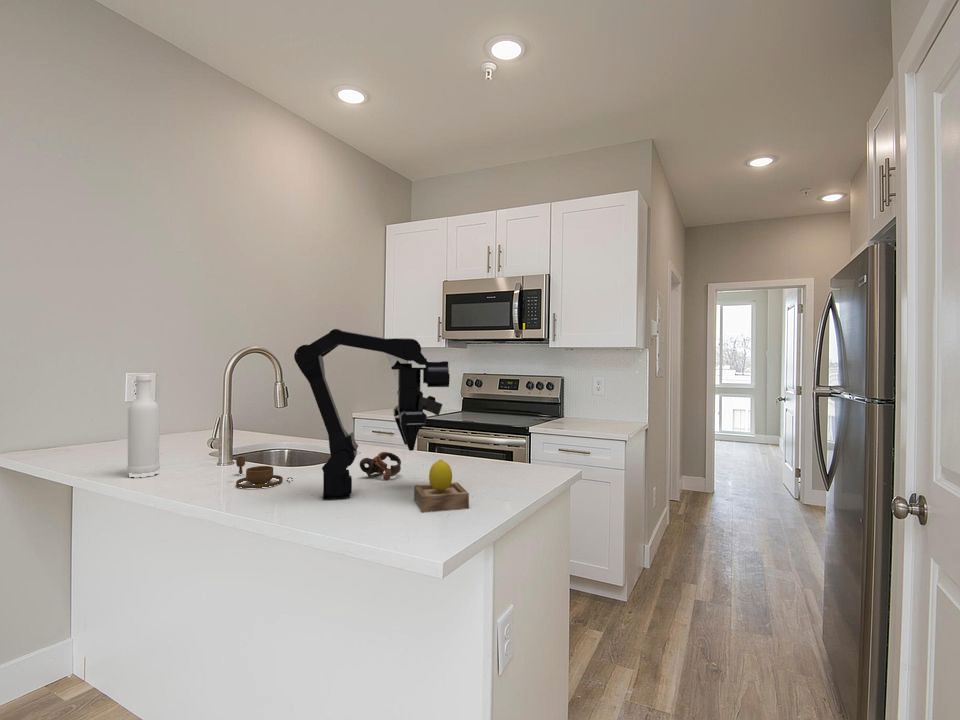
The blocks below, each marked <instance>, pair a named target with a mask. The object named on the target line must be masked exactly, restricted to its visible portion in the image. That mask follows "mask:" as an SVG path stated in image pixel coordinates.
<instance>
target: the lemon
mask: <svg viewBox="0 0 960 720" xmlns="http://www.w3.org/2000/svg"><path fill="white" fill-rule="evenodd" d="M452 472H453V471H452V468H451V466H450V464H449V463H448V462H446V461H444V460H443V459H438V461H435V462H434V463H433V464H432V465H431V467H430V469H429V475H428V480H429V484H431V486H432V487H433V488H434V489H436V490H438V492H439V493H442V492H443V491H444V490H445V489H447V488H448V487H449V486H450V484H451V483H453V473H452Z"/></svg>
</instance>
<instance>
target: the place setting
mask: <svg viewBox="0 0 960 720" xmlns="http://www.w3.org/2000/svg"><path fill="white" fill-rule="evenodd" d="M235 461H236V467H238V468H239V469H238V475H239V474H242V475H243V467H244V466H245V464H246V456H237V457H236V458H235ZM272 478H276V479H279V481H276V480H275V481H272V480H271V479H272ZM289 478H291V479H293V480H294V478H293V477H287V478H286V479H289ZM283 480H284V478H283V476H282V475H277V474H274V466H270V465H259V466H252V467H249V468H246V469H245V477H242V478H240V479H237V480H236V481H235V485H236V487H238V488H239V487H242V488H262V487H269V486H273V487H275V486H274V485H277V484H279V485H280V484H282V483H283ZM243 481H248V482H247V483H250V484H245V483H243V484H239V483H241V482H243ZM270 481H272V482H270ZM267 482H268V483H267ZM265 483H267V484H265ZM252 484H255V485H252ZM277 486H278V485H277ZM242 488H241V489H242ZM269 488H270V487H269ZM262 489H263V488H262Z"/></svg>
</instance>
